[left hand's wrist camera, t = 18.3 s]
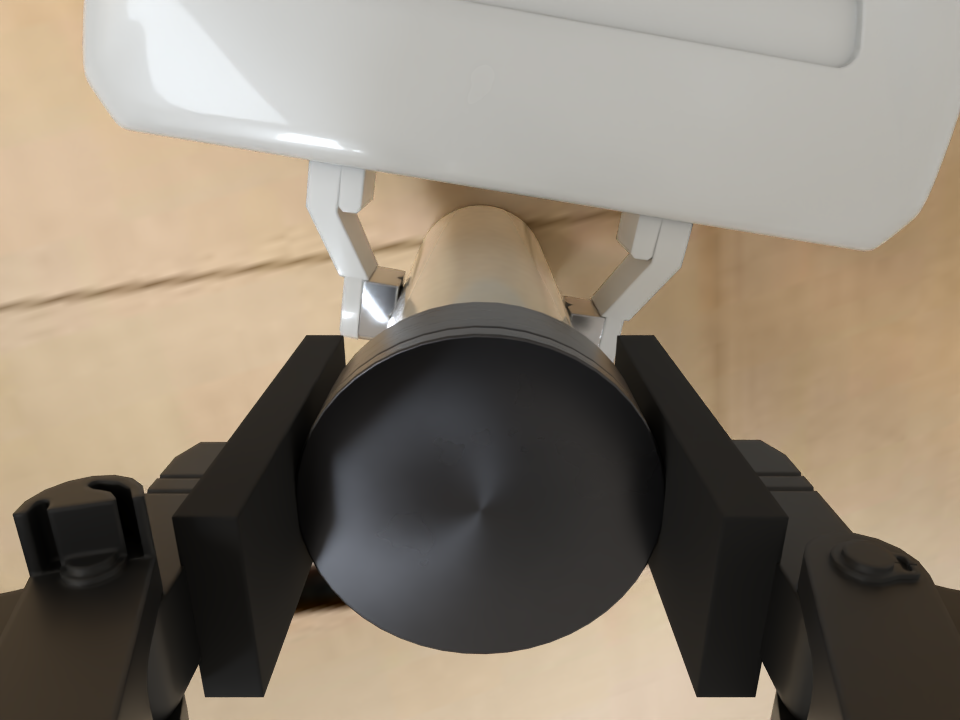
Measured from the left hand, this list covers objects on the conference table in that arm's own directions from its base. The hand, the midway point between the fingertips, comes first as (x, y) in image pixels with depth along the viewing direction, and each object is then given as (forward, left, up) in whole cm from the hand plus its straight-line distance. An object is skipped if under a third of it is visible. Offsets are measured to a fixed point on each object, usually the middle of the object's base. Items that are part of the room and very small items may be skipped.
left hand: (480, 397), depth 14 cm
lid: (0, 0, +4) cm, 4 cm away
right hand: (-1, 0, -5) cm, 5 cm away
